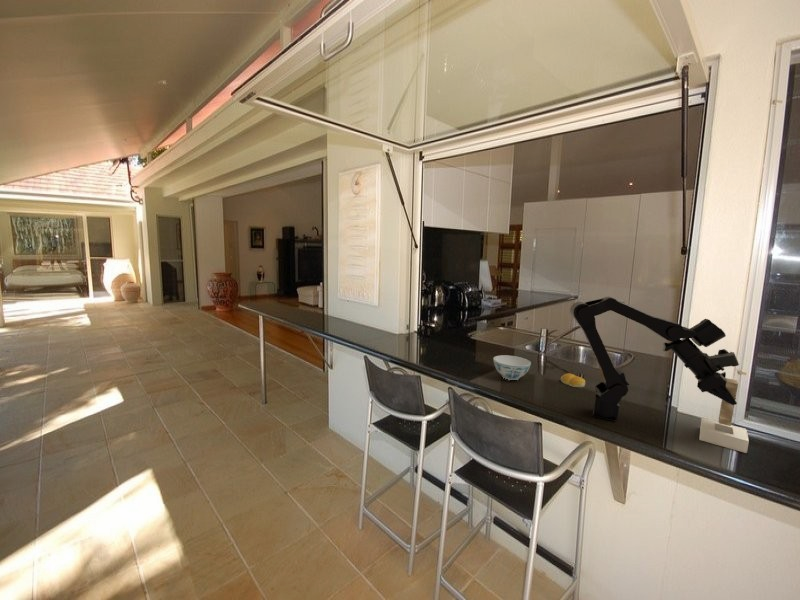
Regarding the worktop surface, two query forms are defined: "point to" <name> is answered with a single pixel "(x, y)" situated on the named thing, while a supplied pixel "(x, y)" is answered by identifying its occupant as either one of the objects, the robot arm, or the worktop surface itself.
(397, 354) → the worktop surface
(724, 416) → the slat
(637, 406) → the worktop surface
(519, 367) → the chinaware
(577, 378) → the bread roll
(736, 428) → the end cap
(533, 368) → the worktop surface
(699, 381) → the robot arm
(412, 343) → the worktop surface
